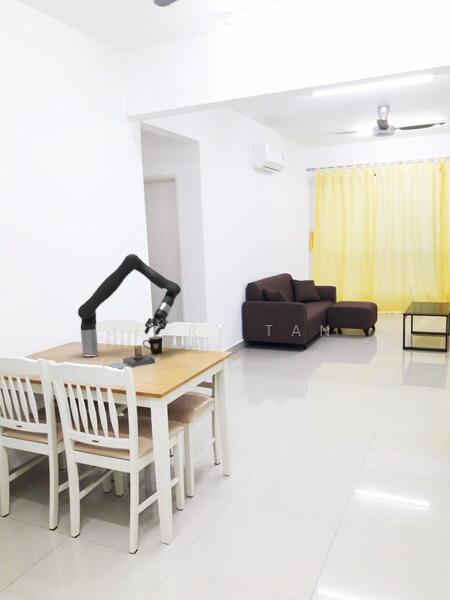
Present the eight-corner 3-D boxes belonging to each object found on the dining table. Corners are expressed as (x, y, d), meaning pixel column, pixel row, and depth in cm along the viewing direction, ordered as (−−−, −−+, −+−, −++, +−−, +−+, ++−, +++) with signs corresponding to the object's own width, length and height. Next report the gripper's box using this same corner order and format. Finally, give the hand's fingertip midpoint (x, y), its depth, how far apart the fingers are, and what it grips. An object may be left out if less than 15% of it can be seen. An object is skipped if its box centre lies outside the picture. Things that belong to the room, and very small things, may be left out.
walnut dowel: (134, 362, 284) (133, 345, 283) (140, 361, 286) (139, 344, 285) (136, 364, 281) (135, 346, 280) (143, 362, 283) (142, 345, 282)
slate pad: (103, 366, 280) (103, 365, 280) (119, 363, 285) (119, 362, 285) (111, 370, 268) (110, 369, 268) (128, 367, 273) (128, 366, 273)
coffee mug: (165, 352, 309) (164, 336, 307) (159, 355, 301) (158, 339, 299) (149, 351, 313) (148, 336, 311) (142, 354, 305) (141, 338, 303)
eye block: (123, 362, 286) (122, 358, 286) (145, 358, 293) (145, 354, 293) (131, 367, 274) (131, 362, 274) (154, 362, 281) (154, 358, 281)
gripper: (150, 307, 301) (138, 329, 293) (168, 308, 293) (156, 330, 285) (157, 315, 306) (145, 336, 298) (174, 316, 298) (163, 338, 290)
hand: (150, 333), depth 291 cm, fingers open, 8 cm apart
